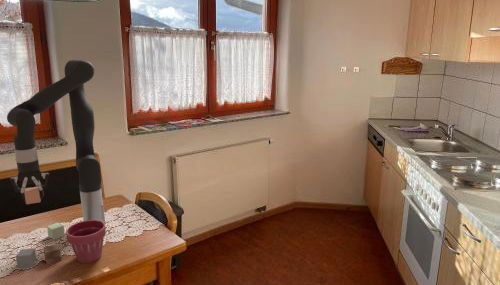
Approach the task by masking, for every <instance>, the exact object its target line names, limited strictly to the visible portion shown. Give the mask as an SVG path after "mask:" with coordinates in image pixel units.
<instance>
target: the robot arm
mask: <svg viewBox="0 0 500 285" xmlns="http://www.w3.org/2000/svg"><path fill="white" fill-rule="evenodd" d="M94 75H95V68H94V65H93V64H92V63H91V62H90V61H88V60H83V59H82V60H81V59H79V60H78V59H71V60H68V61H67V62H66V63H65V65H64V77H63V78H61V79H59V80H57V81H55V82H53V83H51V84H49V85H47V86H45V87H43V88H42V89H40V90H39V91H38V92H37V93H35V94H34V95H32V96H31V97H30V98H29V99H27V100H26V101H23V102H21V103H20V104H17V105H16V106H14V107H13V108H11V109H10V110H9V112H7V115H6V120H7V122H8V123H9V124H10V125H11V126H14V127H16V134H15V135H14V136H13V144H14V151H15V153H14V154H15V155H14V156H15V161H16V167H17V176H11V177H10V180H9V181H10V183H11V186H12V187H13V190H14V192H15V193H20V195H21V200H22V201H23V202H25V203H26V200H25V194H24V192H25V188H27V185H35V187H38V188H39V194H40V199H41V200H43V198H44V196H45V194H44V189H48V183H49V179H50V178H49V176H50V172H42V171H41V169H40V163H39V162H40V161H39V155H38V151H37V148H36V140H35V132H36V131H35V130H36V117H35V115H38V114H42V113H44V112H46V111H47V110H48V109H50V108H51V107H52V106H54V104H55V103H57V102H58V101H59V100H61V99H62V98H63V97H65V96H66V95H68V96H69V97H68V98H69V106H70V115H71V118H70V119H71V125H72V126H71V127H72V132H73V137H74V141H75V142H74V143H75V167H76V170H77V171H78V177H79V185H78V187H79V195H80V196H79V197H80V202H81V204H80V205H81V210H82V211H81V212H82V221H86V220H99V221H102V222H103V223H104V224H105V225H106V217H105V208H104V202H103V193H102V173H101V172H102V171H101V163H100V161H99V160H98V159H97V158H96V155H95V150H94V135H95V128H96V127H95V124H96V123H95V117H94V116H95V113H94V110H93V107H92V105H91V102H90V101H89V99H88V97H87V94H86V92H85V83H87V82H89V81H91V80H92V79H93V77H94ZM41 177H42V178H43V180H44V184H42V183H41V181H40V179H41ZM18 180H19V181H20V183H22V185H21V187H19V185H18V183H17V182H18Z"/></svg>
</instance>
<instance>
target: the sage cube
mask: <svg viewBox="0 0 500 285" xmlns="http://www.w3.org/2000/svg"><path fill="white" fill-rule="evenodd" d="M46 229H47V236H48V237H49V238H50V239H51V240H53V241H55V240H57V239H60V238H63V237H65V236H66V231H65V226H64V224H62V223H60V222H55V223H52V224H50V225H46Z"/></svg>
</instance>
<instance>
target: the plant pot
mask: <svg viewBox="0 0 500 285" xmlns="http://www.w3.org/2000/svg"><path fill="white" fill-rule="evenodd" d="M106 229H107V228H106V223H105V224H104V223H103V222H102V221H99V220H86V221H83V220H82V221H79V222H76V223H74V224H72V225H70V226H69V227H67V229H66V231H65V236H66V241H67V243H68V244H70V246H71V249H72V251H73V254H74V256H75V258H76V261H77V262H79V263H83V264H87V263H88V264H89V263H92V262H95V261H97V260H98V259H100V258H101V256H102V252H103V246H104V239H105V238H104V237H106V234H107V230H106Z"/></svg>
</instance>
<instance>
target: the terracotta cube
mask: <svg viewBox="0 0 500 285" xmlns="http://www.w3.org/2000/svg"><path fill="white" fill-rule="evenodd" d="M24 194H25V200H26V201H25V204H26V205H31V204H36V203H41V201H42V199H40V194H39V188H38V187H37V186H34V187H33V186H32V187H25V192H24Z"/></svg>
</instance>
